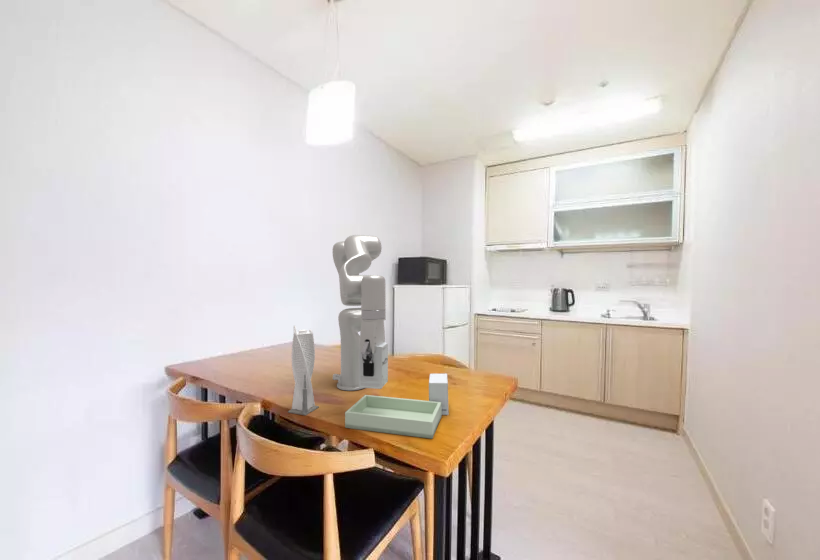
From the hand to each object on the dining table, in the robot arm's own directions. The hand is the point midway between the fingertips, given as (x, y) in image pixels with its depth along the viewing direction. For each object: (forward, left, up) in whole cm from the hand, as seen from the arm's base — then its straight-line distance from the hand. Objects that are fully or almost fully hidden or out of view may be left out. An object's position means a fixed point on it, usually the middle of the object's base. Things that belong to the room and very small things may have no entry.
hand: (373, 371), depth 101 cm
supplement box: (0, 0, -4) cm, 4 cm away
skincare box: (+18, +14, -15) cm, 27 cm away
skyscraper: (-26, +2, -15) cm, 30 cm away
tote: (+7, 0, -15) cm, 16 cm away
